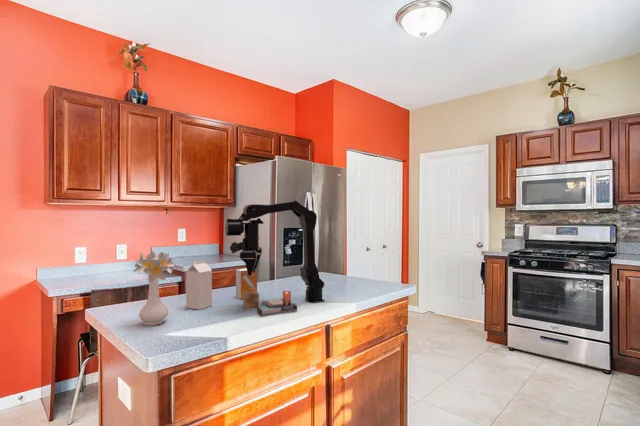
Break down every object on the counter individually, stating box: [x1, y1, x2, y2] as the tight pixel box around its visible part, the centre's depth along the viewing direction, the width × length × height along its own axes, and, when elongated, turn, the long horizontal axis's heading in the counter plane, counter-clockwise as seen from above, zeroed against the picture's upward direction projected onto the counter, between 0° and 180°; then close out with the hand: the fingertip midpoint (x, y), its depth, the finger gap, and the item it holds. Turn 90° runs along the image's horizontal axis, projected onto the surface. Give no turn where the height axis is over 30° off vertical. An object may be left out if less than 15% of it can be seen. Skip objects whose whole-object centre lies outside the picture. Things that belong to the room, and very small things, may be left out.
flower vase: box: [133, 250, 176, 326], centre depth 127 cm, size 13×18×25 cm
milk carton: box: [185, 259, 213, 311], centre depth 148 cm, size 7×7×19 cm
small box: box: [235, 267, 258, 300], centre depth 165 cm, size 8×6×13 cm
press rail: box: [256, 302, 298, 318], centre depth 139 cm, size 15×4×2 cm, turn 117°
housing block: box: [243, 291, 260, 310], centre depth 148 cm, size 5×5×6 cm
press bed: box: [262, 298, 283, 310], centre depth 152 cm, size 9×10×1 cm
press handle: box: [279, 290, 293, 310], centre depth 141 cm, size 4×4×6 cm
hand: (251, 273), depth 146 cm, fingers open, 9 cm apart
